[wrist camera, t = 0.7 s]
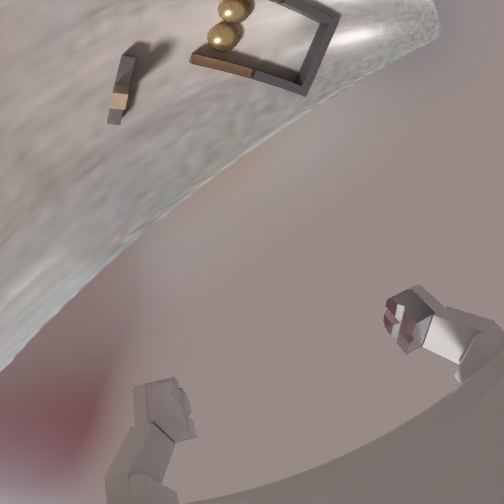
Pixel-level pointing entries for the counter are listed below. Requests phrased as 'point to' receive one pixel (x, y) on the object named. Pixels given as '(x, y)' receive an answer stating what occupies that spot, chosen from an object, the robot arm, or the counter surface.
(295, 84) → the grey angled bracket
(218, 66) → the walnut slot rails
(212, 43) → the brass chip
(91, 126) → the counter surface
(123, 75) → the grey post with peg
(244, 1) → the brass chip
